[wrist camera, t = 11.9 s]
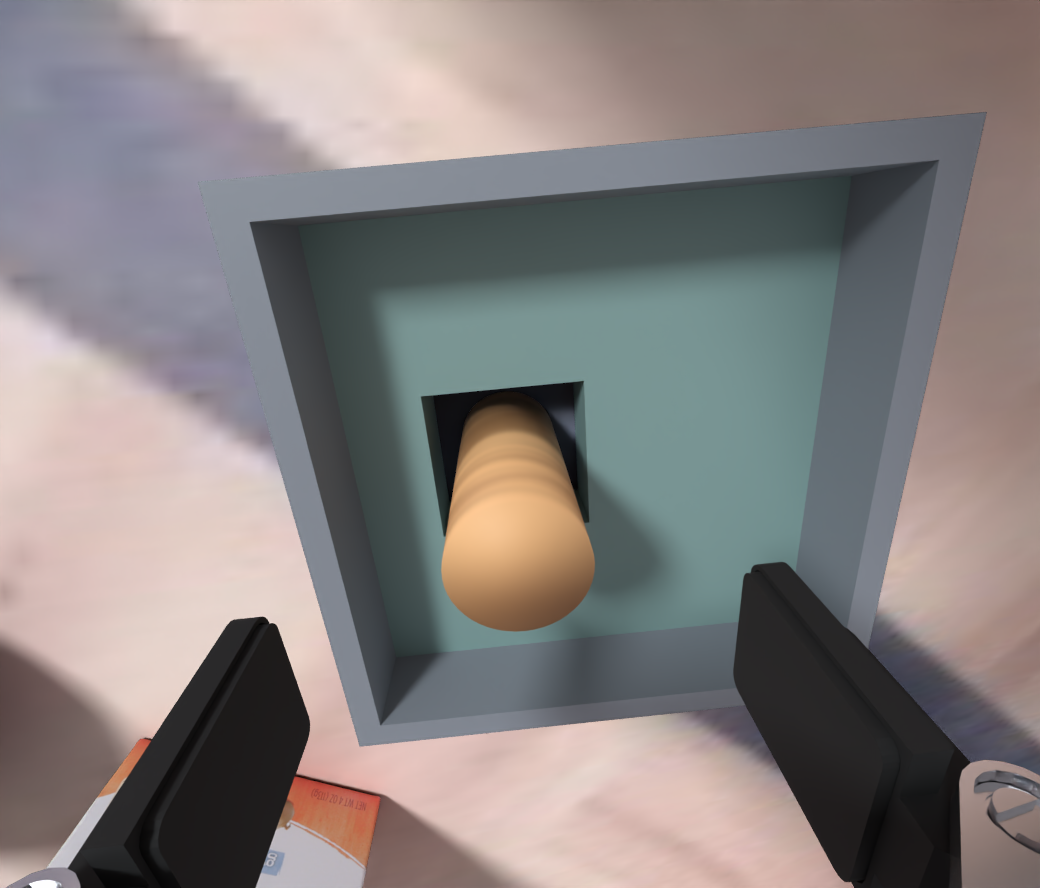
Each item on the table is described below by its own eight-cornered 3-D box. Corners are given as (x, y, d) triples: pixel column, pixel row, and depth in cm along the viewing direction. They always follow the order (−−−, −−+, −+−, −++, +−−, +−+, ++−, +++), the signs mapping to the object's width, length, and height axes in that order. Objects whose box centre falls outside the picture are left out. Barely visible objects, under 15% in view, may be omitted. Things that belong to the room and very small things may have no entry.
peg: (457, 395, 22) (430, 510, 12) (550, 387, 22) (592, 495, 13) (468, 480, 23) (452, 638, 14) (555, 471, 23) (596, 623, 14)
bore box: (292, 200, 19) (197, 181, 13) (829, 152, 19) (986, 111, 13) (390, 629, 26) (359, 746, 20) (774, 590, 26) (858, 693, 20)
